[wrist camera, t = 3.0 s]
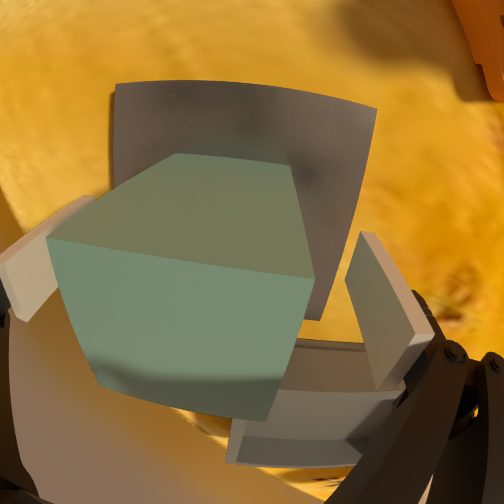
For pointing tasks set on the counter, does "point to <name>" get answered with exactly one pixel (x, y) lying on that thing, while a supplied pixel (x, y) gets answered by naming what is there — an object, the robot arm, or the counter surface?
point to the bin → (316, 411)
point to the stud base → (257, 148)
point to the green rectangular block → (189, 283)
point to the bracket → (485, 39)
